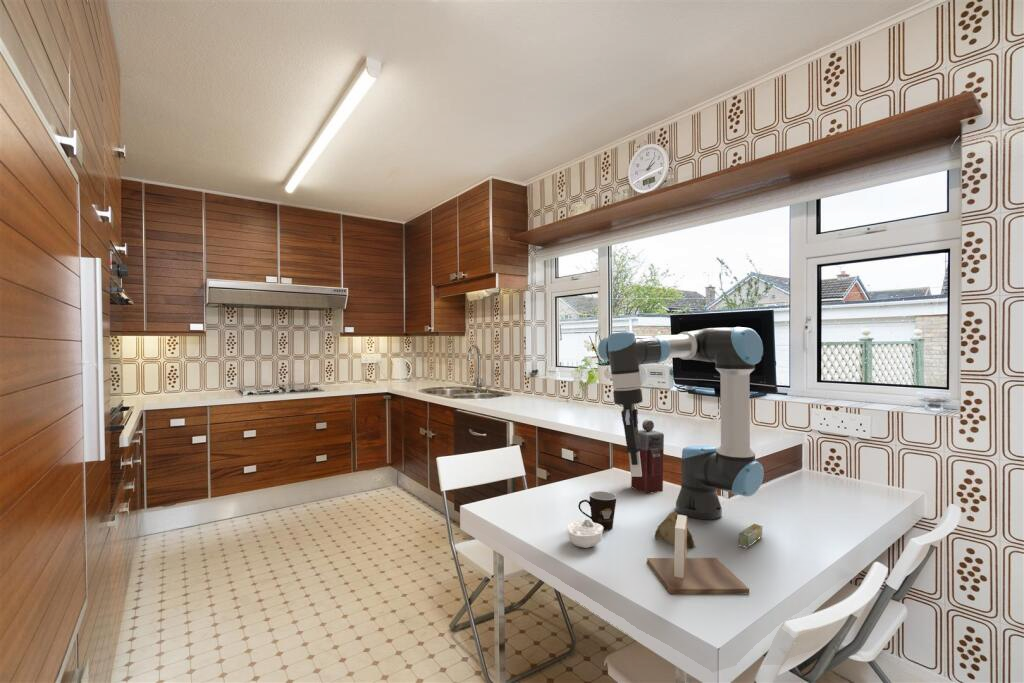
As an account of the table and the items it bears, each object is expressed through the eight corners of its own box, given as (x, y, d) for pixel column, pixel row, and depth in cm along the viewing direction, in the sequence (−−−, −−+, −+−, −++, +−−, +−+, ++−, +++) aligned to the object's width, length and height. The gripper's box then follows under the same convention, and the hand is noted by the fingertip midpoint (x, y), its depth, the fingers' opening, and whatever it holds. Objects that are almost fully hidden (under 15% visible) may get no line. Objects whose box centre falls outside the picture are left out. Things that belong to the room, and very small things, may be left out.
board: (716, 562, 127) (716, 557, 127) (749, 593, 111) (749, 588, 111) (647, 562, 126) (647, 557, 126) (670, 594, 110) (670, 589, 110)
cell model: (558, 546, 135) (558, 522, 135) (581, 534, 144) (582, 512, 144) (588, 557, 128) (589, 532, 128) (610, 544, 137) (611, 520, 137)
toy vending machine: (649, 495, 183) (651, 423, 183) (630, 487, 193) (632, 419, 193) (667, 492, 187) (668, 422, 187) (647, 484, 197) (649, 418, 197)
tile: (674, 576, 116) (675, 527, 116) (676, 559, 125) (677, 514, 125) (684, 578, 115) (685, 529, 115) (686, 561, 124) (687, 516, 124)
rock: (644, 529, 143) (663, 538, 133) (658, 505, 145) (677, 511, 135) (670, 549, 144) (690, 559, 134) (683, 524, 146) (704, 533, 137)
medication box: (747, 549, 136) (748, 535, 136) (737, 546, 138) (738, 532, 138) (762, 538, 144) (762, 525, 144) (752, 535, 146) (753, 522, 146)
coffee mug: (616, 523, 153) (617, 492, 153) (615, 533, 144) (615, 501, 145) (580, 519, 156) (581, 489, 156) (577, 528, 148) (578, 497, 148)
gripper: (616, 387, 135) (625, 469, 134) (609, 392, 123) (619, 482, 122) (643, 385, 132) (652, 469, 132) (638, 390, 120) (649, 482, 119)
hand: (636, 475), depth 127 cm, fingers closed
